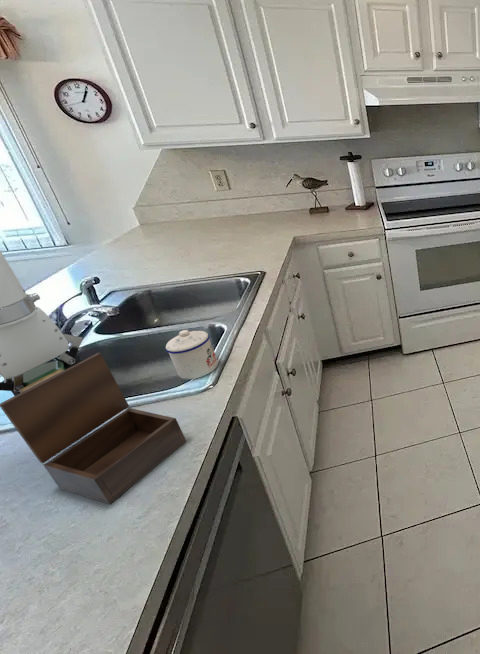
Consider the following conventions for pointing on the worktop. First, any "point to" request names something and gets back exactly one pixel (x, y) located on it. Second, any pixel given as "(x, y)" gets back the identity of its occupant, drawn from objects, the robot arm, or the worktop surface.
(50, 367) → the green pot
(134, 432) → the chest
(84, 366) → the lid
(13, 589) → the worktop surface
